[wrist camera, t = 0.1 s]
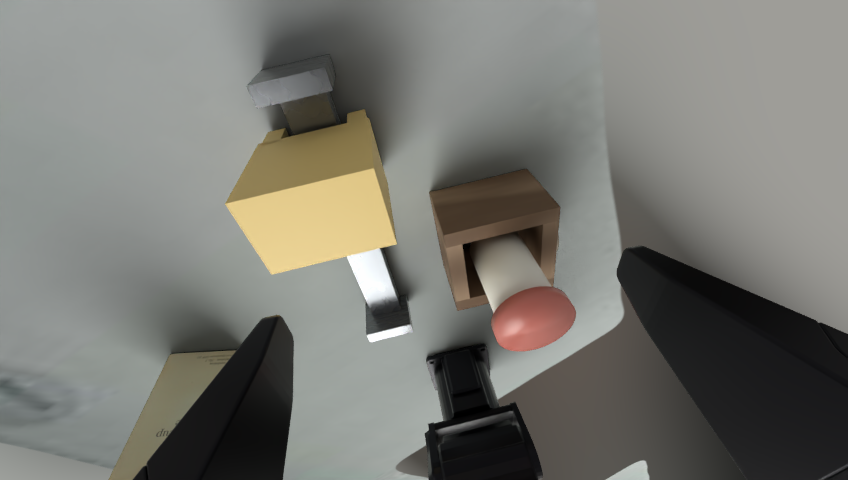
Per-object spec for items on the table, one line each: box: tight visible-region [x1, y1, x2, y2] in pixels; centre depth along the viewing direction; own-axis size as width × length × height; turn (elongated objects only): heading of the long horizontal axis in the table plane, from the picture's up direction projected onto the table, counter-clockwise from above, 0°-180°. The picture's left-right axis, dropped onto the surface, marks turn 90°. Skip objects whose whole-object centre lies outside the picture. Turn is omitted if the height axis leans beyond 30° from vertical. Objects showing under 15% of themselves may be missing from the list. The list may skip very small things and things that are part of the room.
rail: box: [246, 54, 413, 342], centre depth 23 cm, size 20×4×3 cm, turn 10°
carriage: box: [225, 109, 397, 274], centre depth 18 cm, size 4×6×8 cm, turn 100°
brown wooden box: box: [429, 169, 560, 311], centre depth 24 cm, size 7×7×5 cm
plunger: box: [470, 231, 576, 351], centre depth 21 cm, size 4×4×7 cm
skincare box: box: [109, 350, 236, 480], centre depth 27 cm, size 6×4×12 cm
